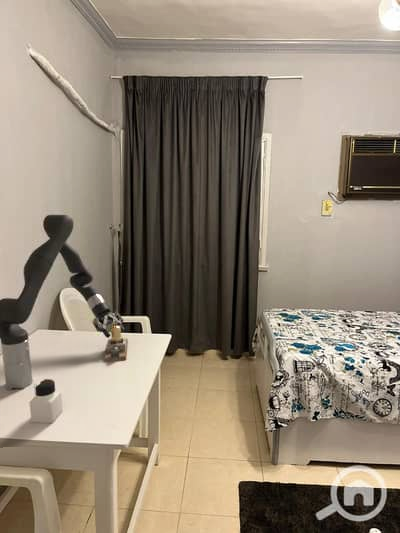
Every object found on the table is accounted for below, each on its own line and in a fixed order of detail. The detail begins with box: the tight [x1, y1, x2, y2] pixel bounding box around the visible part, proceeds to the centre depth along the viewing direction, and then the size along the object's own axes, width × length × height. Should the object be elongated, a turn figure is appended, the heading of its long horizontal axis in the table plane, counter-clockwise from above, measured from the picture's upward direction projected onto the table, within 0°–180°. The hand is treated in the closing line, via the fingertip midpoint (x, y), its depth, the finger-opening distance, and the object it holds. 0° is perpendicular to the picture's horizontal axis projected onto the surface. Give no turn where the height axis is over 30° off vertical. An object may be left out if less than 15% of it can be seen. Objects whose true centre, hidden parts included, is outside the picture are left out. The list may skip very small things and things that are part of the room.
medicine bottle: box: [29, 378, 63, 424], centre depth 122 cm, size 7×7×12 cm
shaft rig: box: [104, 337, 129, 362], centre depth 176 cm, size 24×9×6 cm, turn 9°
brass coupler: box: [110, 324, 122, 344], centre depth 175 cm, size 4×4×10 cm
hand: (116, 334), depth 175 cm, fingers open, 8 cm apart
